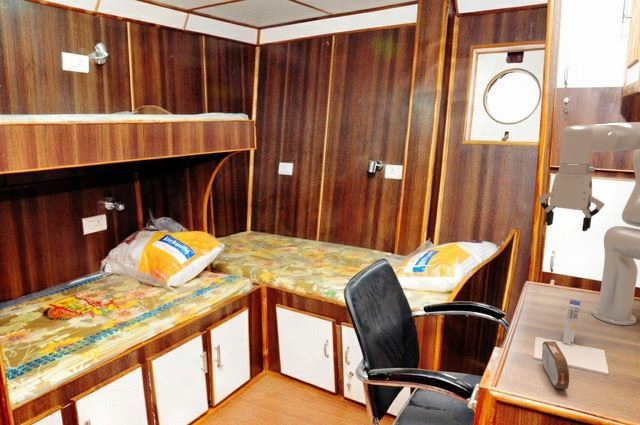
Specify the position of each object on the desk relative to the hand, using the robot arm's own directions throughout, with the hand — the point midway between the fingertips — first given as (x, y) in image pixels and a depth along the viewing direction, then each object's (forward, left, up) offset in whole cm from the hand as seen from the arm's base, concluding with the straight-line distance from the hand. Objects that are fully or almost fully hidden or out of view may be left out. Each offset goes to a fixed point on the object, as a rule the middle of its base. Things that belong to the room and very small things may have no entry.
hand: (566, 227), depth 134 cm
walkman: (+2, +4, -34) cm, 35 cm away
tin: (+26, 0, -35) cm, 44 cm away
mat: (+11, +4, -35) cm, 37 cm away
